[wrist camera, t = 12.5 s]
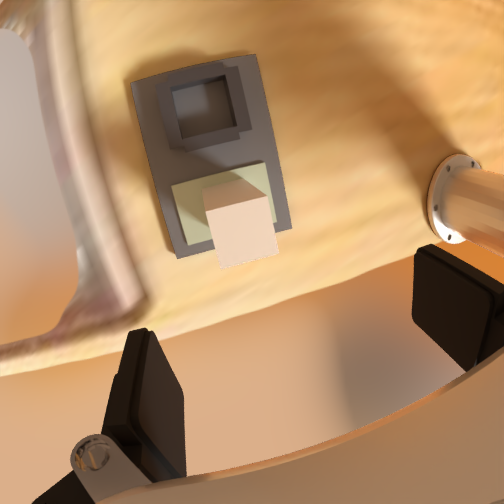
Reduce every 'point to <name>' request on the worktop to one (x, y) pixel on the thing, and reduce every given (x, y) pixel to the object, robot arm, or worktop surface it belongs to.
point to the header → (208, 143)
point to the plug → (239, 222)
